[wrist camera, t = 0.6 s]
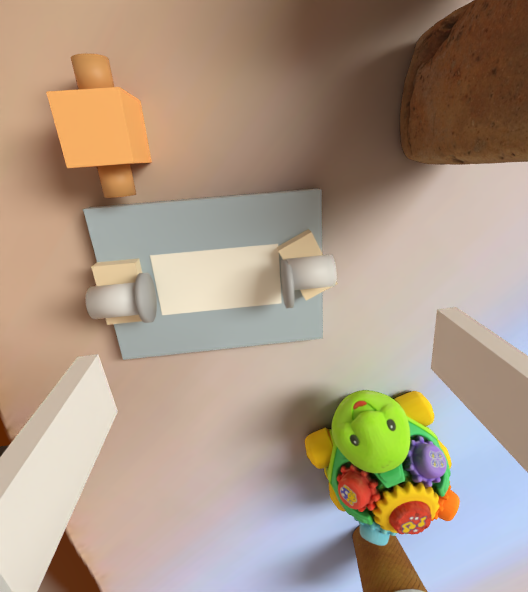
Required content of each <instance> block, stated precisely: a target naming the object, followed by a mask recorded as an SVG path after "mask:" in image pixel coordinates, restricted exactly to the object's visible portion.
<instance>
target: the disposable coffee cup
mask: <svg viewBox="0 0 528 592" xmlns="http://www.w3.org/2000/svg"><path fill="white" fill-rule="evenodd" d="M352 538H353V543H354V548H355V553H356V558H357V563H358V568H359V573H360V578H361V583H362V588H363V592H427V590H426V589H425V587H424V585H423V583H422V582H421V580H420V578H419V576H418V575H417V573H416V571H415V569H414V567H413V566H412V564H411V562H410V560H409V559H408V557H407V555H406V553H405V552H404V550H403V548H402V546H401V545H400V543H399V541H398V539H397V538H396V536H392V535H390V536H389V540H388V543H387V544H386V545H384V546H380V545H376V544H373V543H371V542H369V541H367V540H365V539H364V538H363V537H362V536H361V535H360V526H359V527H357V528H356V530H355V531H354V533H353V536H352Z"/></svg>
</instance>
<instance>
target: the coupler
mask: <svg viewBox="0 0 528 592" xmlns="http://www.w3.org/2000/svg"><path fill="white" fill-rule="evenodd" d="M71 61H72V65H73V69H74V73H75V77H76V81H77V86H78V90H64V91H49V92H46V93H47V96H48V100H49V104H50V107H51V111H52V115H53V118H54V122H55V126H56V129H57V133H58V137H59V140H60V144H61V148H62V152H63V155H64V159H65V163H66V166H67V168H79V167H97V169H98V173H99V177H100V181H101V185H102V190H103V194H104V198H114V197H124V196H131V195H136V190H135V186H134V181H133V176H132V171H131V166H130V164H137V163H150V162H151V156H150V151H149V145H148V140H147V134H146V129H145V123H144V118H143V113H142V107H141V102H140V100H139V99H137V98H136V97H134V96H132V95H131V94H129V93H128V92H126V91H125V90H123V89H122V88H120V87H114V83H113V79H112V74H111V69H110V64H109V59H108V58H107V57H105V56H102V55H98V54H77V55H74V56H72V57H71Z"/></svg>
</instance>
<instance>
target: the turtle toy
mask: <svg viewBox="0 0 528 592" xmlns="http://www.w3.org/2000/svg"><path fill="white" fill-rule="evenodd" d="M433 421H434V413H433V409H432V406H431V404H430V402H429V401H428V400H427V399H426V398H425V397H424V396H423V395H422V394H421V393H420V392H417V391H412V392H409V393H406V394H404V395H401V396H399V397H396V398H394V399H392V398H391V397H389V396H387V395H384V394H382V393H379V392H375V391H369V390H362V391H357V392H354V393H352V394H350V395H348V396H347V397H345V398H344V399H343V400H342V402H341V403H340V404H339V406H338V408H337V409H336V411H335V414H334V417H333V420H332V429H327V428H323V429H320V430H318V431H316V432H313V433H311V434H309V435H308V436H307V437H306V439H305V448H306V454H307V457H308V458H309V459H310V461H311V463H312V464H313V465H314V466H315V467H316V468H319V469H322V468H324V472H325V476H326V478H327V479H328V480H329V491H330V498H331V500H332V501H333V503H334V504H335V505H336V507H337V508H338V509H339V510H341V511H346V512H347V513H348V514H349V515H352V516H353V517H354V519H355V520H356V521H359V524H360V535H361V536H362V537H363V538H364V539H365V540H367V541H369V542H371V543H373V544H376V545H380V546H384V545H386V544H387V543H388V540H389V536H390V535H392V536H395V534H396V533H399V534H404V533H405V534H418V533H419V532H422V531H423V530H424V529H426V528H428V527H429V525H430V523H431V522H430V521H433V520H434V519H437V518H438V517H439V518H441V519H443V520H445V521H450V520H452V519H453V518H454V516H455V515H456V513H457V510H458V507H459V503H460V500H459V497H458V496H457V494H455V493H454V492H453V491H452V490H450V489H451V486H450V481H449V477H450V468H451V465H452V463H451V459H450V456H449V454H448V450H447V448H446V447H445V446H444V445H443V444H442V443H441V442H440V441H439V440H438V438H437V436H436V435H435V434H434V433H433V432H432V431H431V430H430V429H429V428H428V427H426V426H428V425H430V424H431V423H433Z"/></svg>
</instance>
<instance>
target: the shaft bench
mask: <svg viewBox="0 0 528 592" xmlns="http://www.w3.org/2000/svg"><path fill="white" fill-rule="evenodd" d="M83 211H84V215H85V218H86V222H87V226H88V230H89V233H90V237H91V241H92V245H93V248H94V252H95V256H96V260H97V263H96V264H94V265H93V266H92V267H91V268H92V272H93V275H94V279H95V282H96V286H92V287H89V288H88V290H87V293H86V307H87V311H88V313H89V315H90V317H91V318H92V319H102V318H105V319H106V322H107V325H110V324H114V327H115V331H116V335H117V339H118V342H119V346H120V350H121V354H122V357H123V360H125V359H134V358H144V357H153V356H162V355H172V354H181V353H190V352H200V351H209V350H218V349H228V348H237V347H246V346H256V345H265V344H275V343H284V342H293V341H303V340H312V339H321V338H323V311H322V292H323V291H325V290H327V289H329V288H331V287H333V286H335V285H336V284H338V283H337V281H336V276H337V275H336V264H335V260H334V257H333V256H332V255H323V253H322V189H319V188H315V189H303V190H291V191H279V192H267V193H255V194H243V195H231V196H219V197H207V198H195V199H183V200H171V201H159V202H147V203H135V204H123V205H111V206H98V207H89V208H86V209H83Z"/></svg>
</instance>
